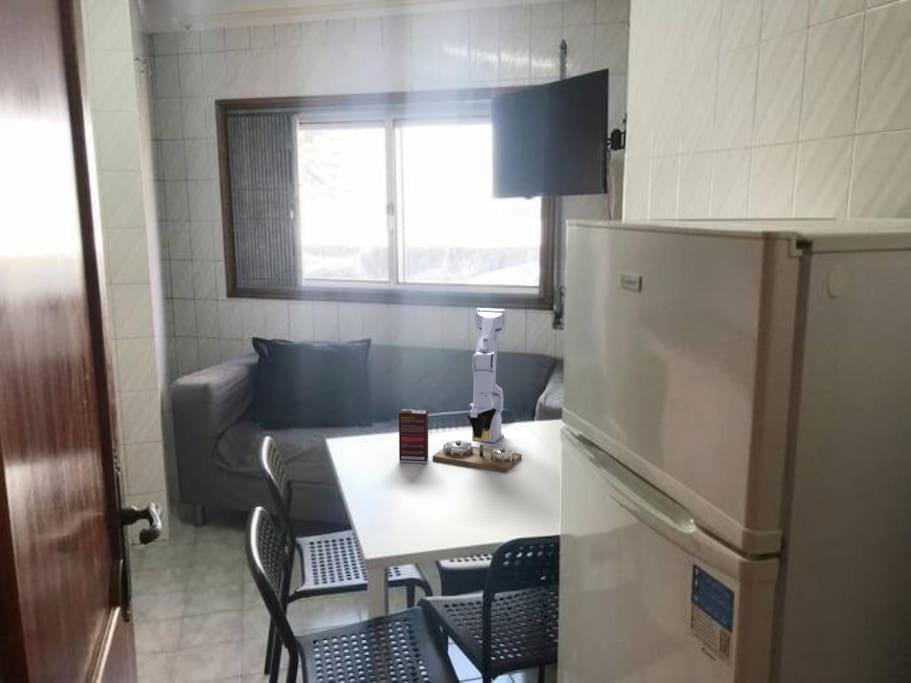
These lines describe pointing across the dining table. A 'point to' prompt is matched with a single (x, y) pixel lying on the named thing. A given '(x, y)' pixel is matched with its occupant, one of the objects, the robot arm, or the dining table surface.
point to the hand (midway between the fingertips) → (481, 434)
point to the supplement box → (413, 436)
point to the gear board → (477, 456)
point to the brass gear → (483, 435)
